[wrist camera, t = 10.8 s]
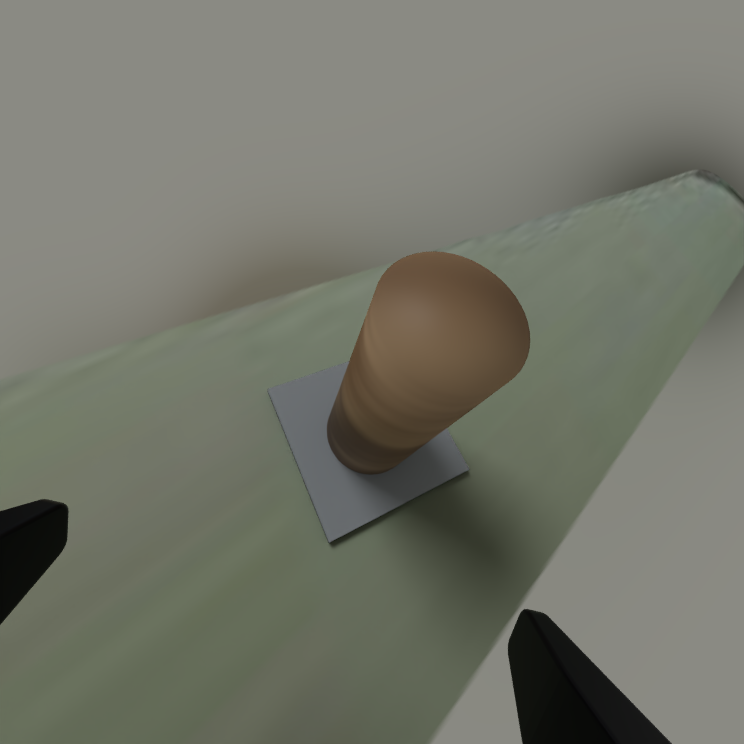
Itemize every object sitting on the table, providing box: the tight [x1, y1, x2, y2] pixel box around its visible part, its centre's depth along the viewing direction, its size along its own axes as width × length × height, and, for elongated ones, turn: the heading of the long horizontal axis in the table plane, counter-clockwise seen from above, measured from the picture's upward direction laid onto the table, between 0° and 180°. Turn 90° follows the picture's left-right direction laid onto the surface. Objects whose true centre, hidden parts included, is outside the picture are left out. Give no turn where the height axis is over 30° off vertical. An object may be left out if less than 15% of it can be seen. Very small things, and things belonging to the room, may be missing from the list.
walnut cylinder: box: [327, 252, 530, 475], centre depth 17 cm, size 5×5×12 cm
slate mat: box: [268, 361, 469, 543], centre depth 22 cm, size 9×9×1 cm
